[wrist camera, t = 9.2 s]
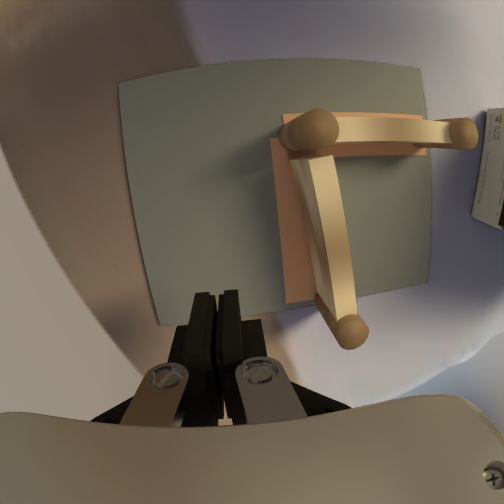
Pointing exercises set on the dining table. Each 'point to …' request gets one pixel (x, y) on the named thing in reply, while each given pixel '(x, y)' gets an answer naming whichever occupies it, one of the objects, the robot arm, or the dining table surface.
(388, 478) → the robot arm
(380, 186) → the card
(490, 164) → the tea box
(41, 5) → the dining table surface
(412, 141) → the wooden fence panel
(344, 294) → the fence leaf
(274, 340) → the dining table surface
